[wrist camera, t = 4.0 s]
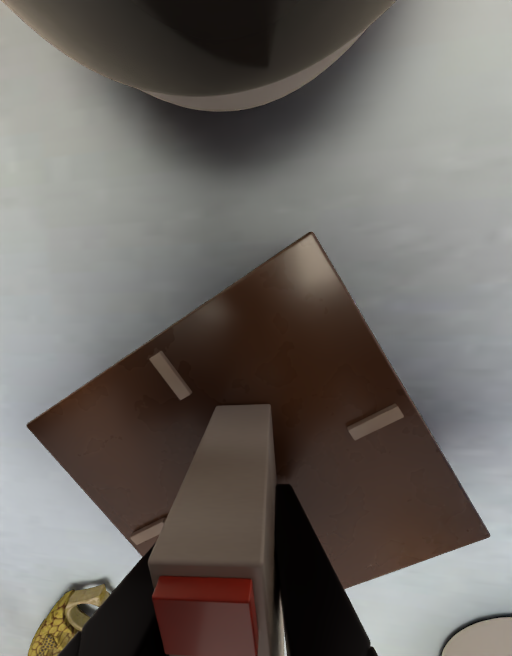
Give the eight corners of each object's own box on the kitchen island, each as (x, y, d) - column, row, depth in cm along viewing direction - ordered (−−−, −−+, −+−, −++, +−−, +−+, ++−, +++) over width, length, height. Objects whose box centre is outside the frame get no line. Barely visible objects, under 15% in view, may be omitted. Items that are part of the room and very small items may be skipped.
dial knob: (282, 548, 8) (288, 827, 4) (234, 547, 8) (194, 815, 4) (270, 403, 7) (261, 590, 3) (215, 405, 7) (135, 583, 3)
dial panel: (228, 548, 12) (211, 644, 9) (93, 382, 11) (18, 428, 7) (430, 460, 10) (497, 543, 7) (300, 242, 9) (313, 228, 6)
